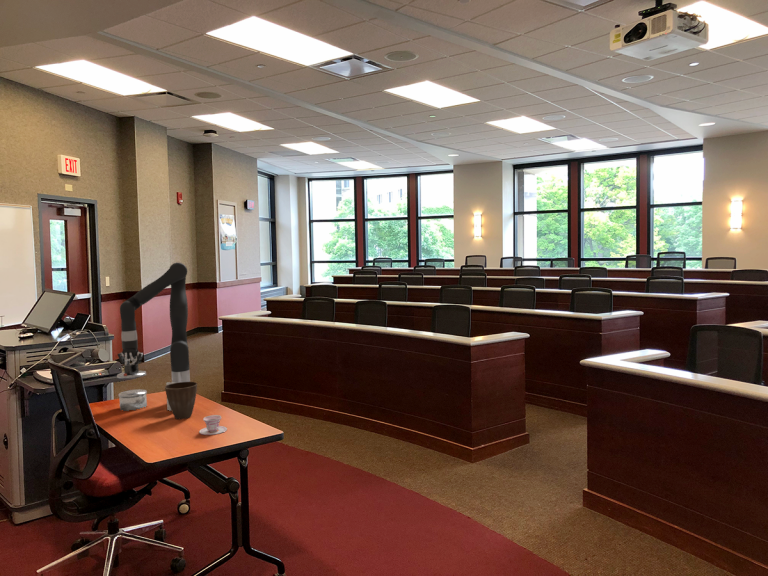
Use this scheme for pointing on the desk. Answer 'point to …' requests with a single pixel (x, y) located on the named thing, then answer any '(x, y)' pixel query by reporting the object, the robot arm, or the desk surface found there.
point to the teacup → (212, 425)
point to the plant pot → (181, 398)
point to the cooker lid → (130, 372)
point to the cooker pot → (132, 399)
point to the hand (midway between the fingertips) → (131, 371)
